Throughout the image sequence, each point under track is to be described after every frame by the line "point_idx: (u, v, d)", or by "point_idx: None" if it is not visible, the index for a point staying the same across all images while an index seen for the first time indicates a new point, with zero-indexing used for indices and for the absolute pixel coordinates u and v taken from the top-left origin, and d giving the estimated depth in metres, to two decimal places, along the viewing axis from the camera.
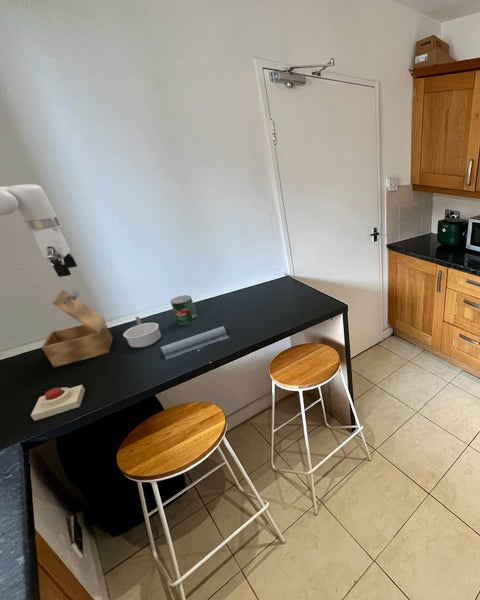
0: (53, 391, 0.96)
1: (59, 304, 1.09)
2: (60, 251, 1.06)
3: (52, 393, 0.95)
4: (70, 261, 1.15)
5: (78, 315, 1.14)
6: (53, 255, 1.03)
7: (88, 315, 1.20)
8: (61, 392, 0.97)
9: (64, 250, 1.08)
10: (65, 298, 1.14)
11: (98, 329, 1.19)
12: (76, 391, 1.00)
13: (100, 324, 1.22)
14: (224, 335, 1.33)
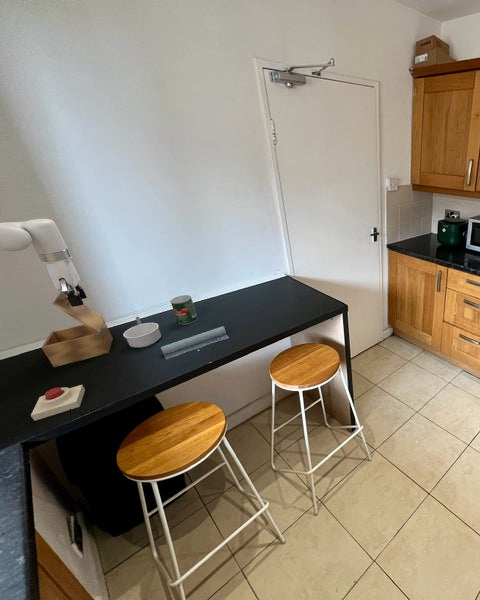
0: (53, 391, 0.96)
1: (59, 304, 1.09)
2: (71, 282, 1.09)
3: (52, 393, 0.95)
4: (80, 293, 1.17)
5: (78, 315, 1.14)
6: (67, 289, 1.08)
7: (88, 315, 1.20)
8: (61, 392, 0.97)
9: (75, 280, 1.12)
10: (65, 298, 1.14)
11: (98, 329, 1.19)
12: (76, 391, 1.00)
13: (100, 324, 1.22)
14: (224, 335, 1.33)
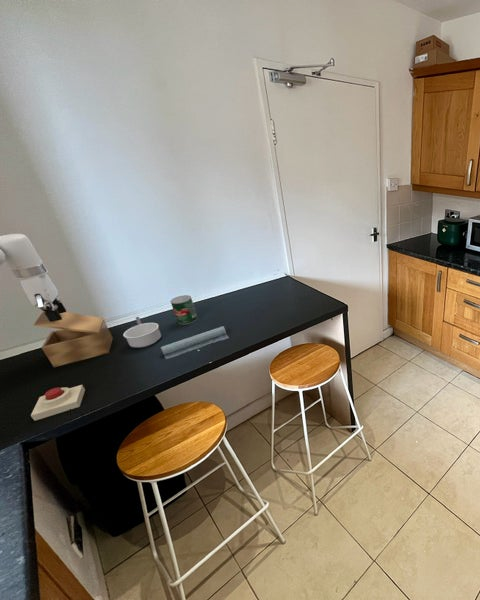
0: (53, 391, 0.96)
1: (41, 323, 1.08)
2: (47, 297, 1.07)
3: (52, 393, 0.95)
4: (59, 307, 1.16)
5: (69, 325, 1.14)
6: (43, 305, 1.06)
7: (82, 321, 1.19)
8: (61, 392, 0.97)
9: (52, 295, 1.10)
10: None
11: (97, 330, 1.18)
12: (76, 391, 1.00)
13: (99, 324, 1.22)
14: (224, 335, 1.33)
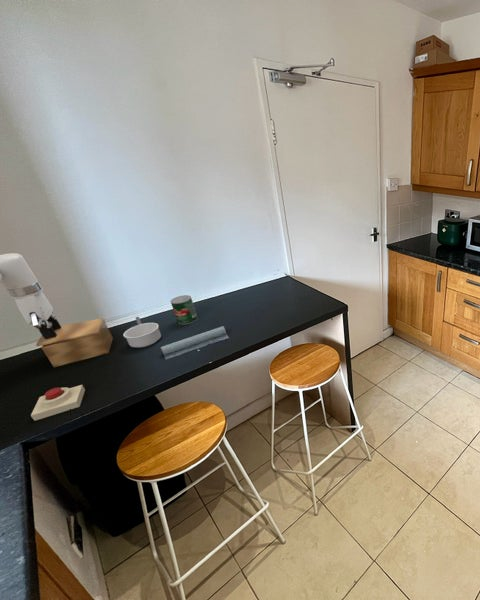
0: (53, 391, 0.96)
1: (42, 342, 1.10)
2: (42, 315, 1.08)
3: (52, 393, 0.95)
4: (54, 324, 1.17)
5: (68, 335, 1.15)
6: (38, 323, 1.07)
7: (81, 327, 1.20)
8: (61, 392, 0.97)
9: (47, 313, 1.11)
10: None
11: (96, 330, 1.18)
12: (76, 391, 1.00)
13: (98, 325, 1.22)
14: (224, 335, 1.33)
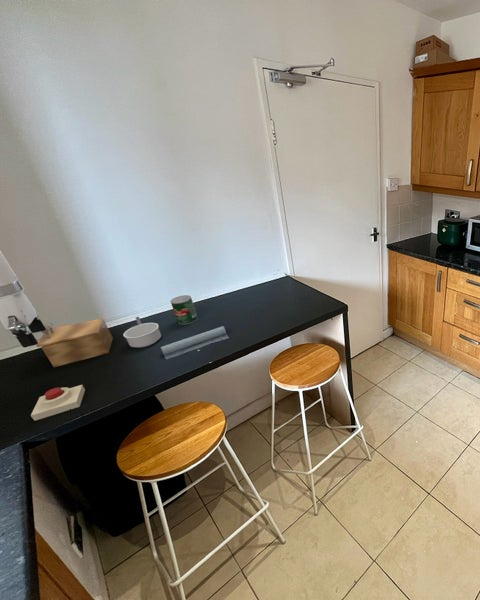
0: (53, 391, 0.96)
1: (43, 343, 1.11)
2: (24, 319, 0.92)
3: (52, 393, 0.95)
4: (37, 325, 1.01)
5: (69, 336, 1.15)
6: (15, 326, 0.89)
7: (82, 328, 1.20)
8: (61, 392, 0.97)
9: (29, 317, 0.94)
10: (50, 334, 1.16)
11: (96, 330, 1.18)
12: (76, 391, 1.00)
13: (98, 325, 1.22)
14: (224, 335, 1.33)
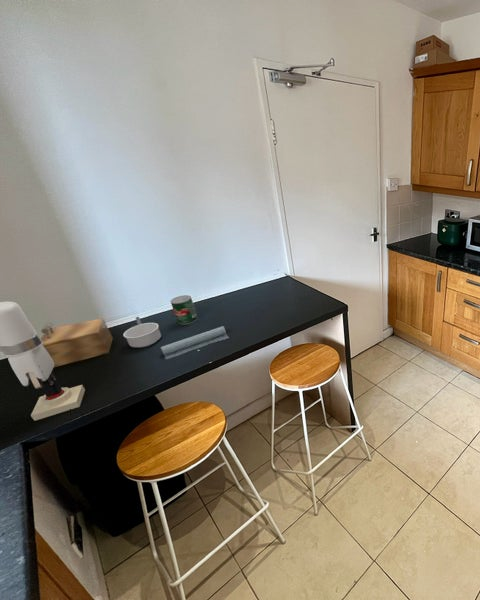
0: None
1: (43, 343, 1.11)
2: (41, 375, 0.89)
3: (53, 395, 0.95)
4: None
5: (69, 336, 1.15)
6: (41, 384, 0.90)
7: (82, 328, 1.20)
8: None
9: (47, 370, 0.91)
10: (50, 334, 1.16)
11: (96, 330, 1.18)
12: (76, 391, 1.00)
13: (98, 325, 1.22)
14: (224, 335, 1.33)
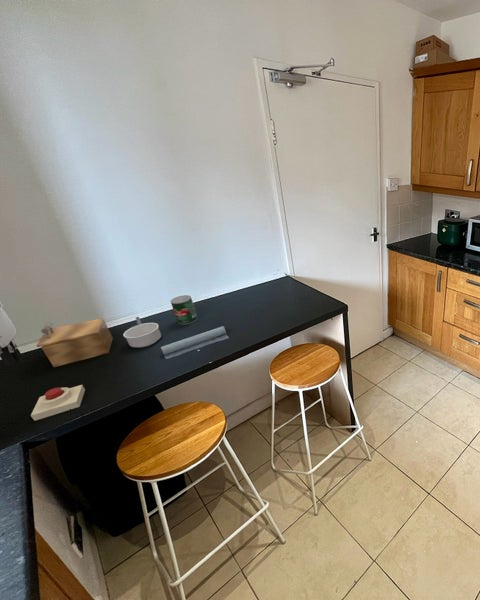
0: (53, 391, 0.96)
1: (43, 343, 1.11)
2: (0, 340, 0.82)
3: (52, 393, 0.95)
4: None
5: (69, 336, 1.15)
6: None
7: (82, 328, 1.20)
8: (61, 392, 0.97)
9: (6, 337, 0.84)
10: (50, 334, 1.16)
11: (96, 330, 1.18)
12: (76, 391, 1.00)
13: (98, 325, 1.22)
14: (224, 335, 1.33)
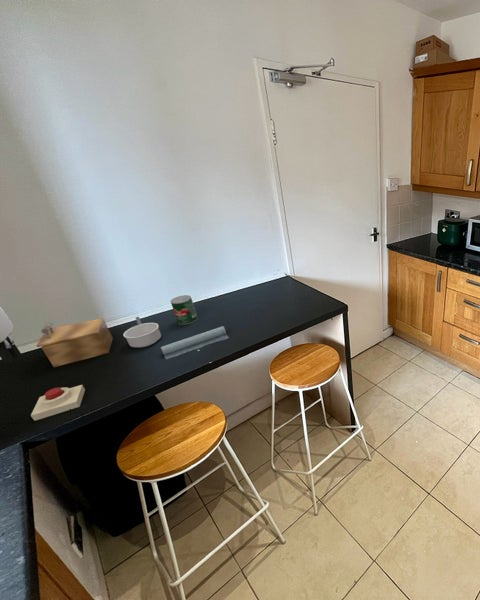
0: (53, 391, 0.96)
1: (43, 343, 1.11)
2: None
3: (52, 393, 0.95)
4: None
5: (69, 336, 1.15)
6: None
7: (82, 328, 1.20)
8: (61, 392, 0.97)
9: (3, 332, 0.83)
10: (50, 334, 1.16)
11: (96, 330, 1.18)
12: (76, 391, 1.00)
13: (98, 325, 1.22)
14: (224, 335, 1.33)
